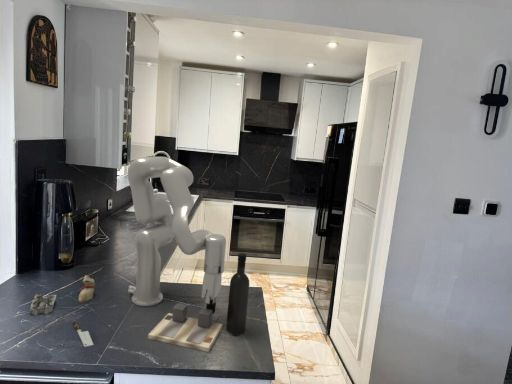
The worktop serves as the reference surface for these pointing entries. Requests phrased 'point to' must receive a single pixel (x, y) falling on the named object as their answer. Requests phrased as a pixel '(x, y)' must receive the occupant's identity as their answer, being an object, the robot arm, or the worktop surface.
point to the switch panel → (186, 333)
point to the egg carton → (42, 304)
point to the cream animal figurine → (87, 289)
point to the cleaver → (83, 335)
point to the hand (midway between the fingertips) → (210, 312)
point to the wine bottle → (238, 299)
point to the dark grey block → (179, 312)
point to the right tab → (205, 317)
